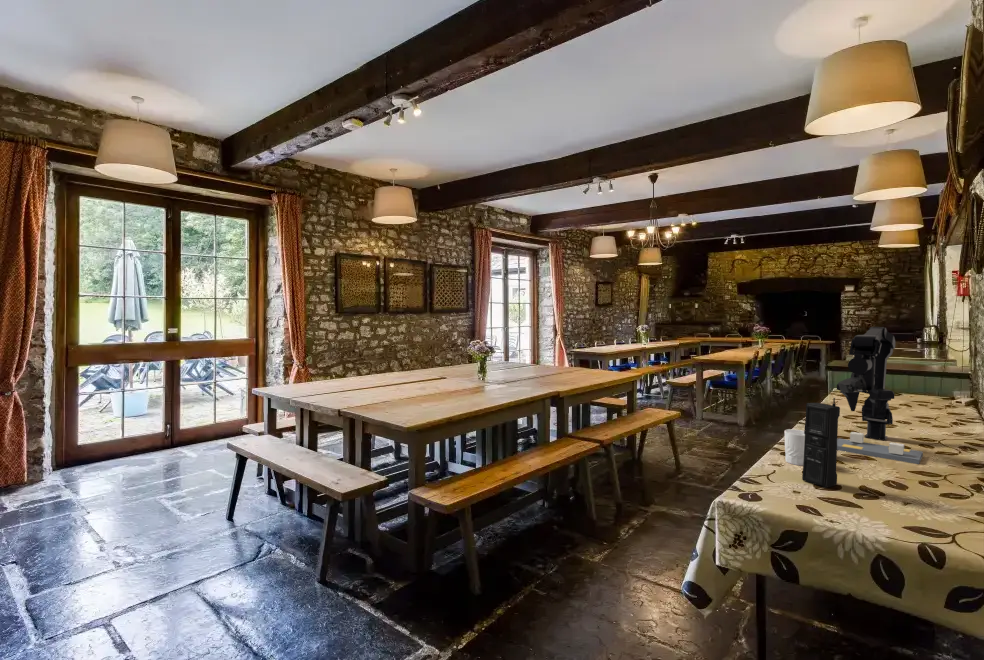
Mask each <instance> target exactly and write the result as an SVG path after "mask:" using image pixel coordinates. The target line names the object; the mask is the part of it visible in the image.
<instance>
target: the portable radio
mask: <svg viewBox="0 0 984 660" xmlns="http://www.w3.org/2000/svg"><path fill="white" fill-rule="evenodd" d="M832 399H833V402H832V405H831V404H826V403H820V402H810V403H809V402H807V403H806V404H805V422H804V430H803V431H804V434H805V443H804V462H803V466H802V474H801V475H802V476H801V477H802V479H801V480H802V481H804V482H807V483H810V484H813V485H816V486H819V487H822V488H825V489H826V488H830V487H835V486H836V485H837V484H838V473H837V461H838V458H837V457H838V456H837V455H838V450H837V439H838V436H839V435H838V430H839V428H838V427H839V417H840V415H841V406H837V404H836V403H835V402H836V397H833V398H832Z"/></svg>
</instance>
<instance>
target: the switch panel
mask: <svg viewBox="0 0 984 660" xmlns="http://www.w3.org/2000/svg"><path fill="white" fill-rule="evenodd" d="M837 451H841V452H845V451H846V453H852V454H857V455H863V456H868V457H875V458H881V459H886V460H892V461H898V462H903V463H908V464H909V463H910V464H916V465H919V464H921V463H920V462H921V461H922V459H923V456H924V455H923V454H924V451H921V450H916V449H911V448H909V449H907V448H904V454H903V455H899V454H893V453H889V445H884V444H876V443H871V442H866V441H864V442H863V443H857V442H851V441H850V439H844V438H838V437H837Z"/></svg>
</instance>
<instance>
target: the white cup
mask: <svg viewBox="0 0 984 660" xmlns="http://www.w3.org/2000/svg"><path fill="white" fill-rule="evenodd" d="M804 443H805V434H804V430H801V429H793V428H792V429H789V428H788V429H785V430H784V453H785V462H786V463H788V464H791V465H795V466H801V467H803V462H804Z"/></svg>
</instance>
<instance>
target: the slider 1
mask: <svg viewBox="0 0 984 660" xmlns="http://www.w3.org/2000/svg"><path fill="white" fill-rule="evenodd" d="M864 436H865V434H864V433H863V432H862V433H861V432H855V431H851V432H850V433H849V440H850V441H851V442H857V443H863V442H865V441H864V439H865V437H864Z"/></svg>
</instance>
